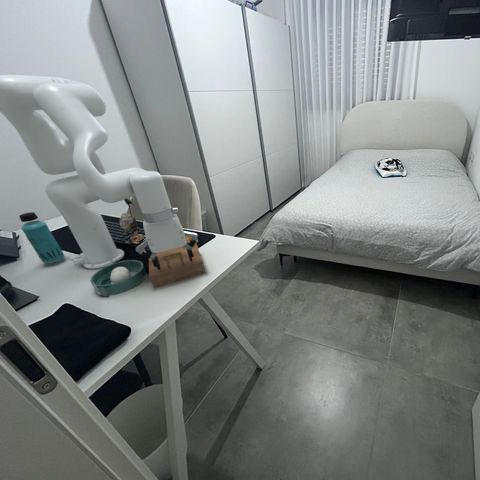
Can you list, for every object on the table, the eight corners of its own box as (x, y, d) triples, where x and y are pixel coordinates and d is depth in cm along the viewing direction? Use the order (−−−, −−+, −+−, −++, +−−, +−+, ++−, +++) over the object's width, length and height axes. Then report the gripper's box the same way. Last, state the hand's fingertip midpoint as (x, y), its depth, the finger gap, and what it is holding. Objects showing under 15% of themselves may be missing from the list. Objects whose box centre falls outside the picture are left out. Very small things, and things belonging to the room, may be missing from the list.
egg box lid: (203, 262, 87) (199, 250, 84) (149, 277, 80) (144, 264, 77) (196, 243, 98) (192, 231, 96) (149, 255, 91) (144, 242, 89)
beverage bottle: (53, 258, 101) (24, 210, 91) (71, 257, 101) (44, 209, 91) (39, 267, 95) (6, 218, 85) (58, 266, 95) (27, 217, 86)
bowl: (93, 303, 78) (86, 291, 76) (99, 278, 89) (94, 268, 86) (147, 287, 84) (142, 276, 82) (147, 266, 95) (143, 255, 93)
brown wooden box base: (206, 274, 90) (202, 261, 87) (155, 289, 83) (149, 276, 80) (199, 255, 101) (196, 243, 98) (154, 267, 94) (149, 255, 91)
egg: (130, 285, 85) (126, 273, 82) (112, 289, 82) (107, 276, 80) (131, 274, 90) (127, 262, 88) (114, 278, 87) (109, 266, 85)
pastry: (176, 251, 104) (173, 242, 102) (172, 244, 108) (169, 236, 107) (200, 243, 109) (197, 235, 107) (195, 238, 114) (193, 230, 112)
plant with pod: (139, 233, 118) (123, 191, 109) (152, 239, 113) (135, 195, 103) (120, 240, 112) (100, 196, 103) (132, 247, 107) (112, 202, 97)
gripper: (189, 205, 82) (201, 250, 91) (124, 216, 75) (144, 265, 83) (192, 212, 77) (205, 260, 85) (122, 226, 69) (144, 277, 77)
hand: (175, 263), depth 84 cm, fingers open, 9 cm apart
